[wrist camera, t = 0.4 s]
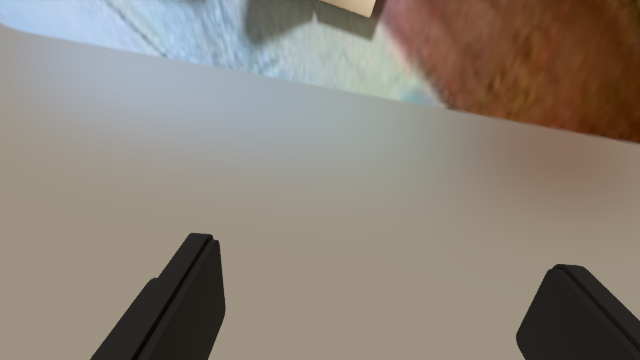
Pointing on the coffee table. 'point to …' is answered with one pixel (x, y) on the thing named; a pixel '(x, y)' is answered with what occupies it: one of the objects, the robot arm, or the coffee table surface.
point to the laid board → (354, 6)
